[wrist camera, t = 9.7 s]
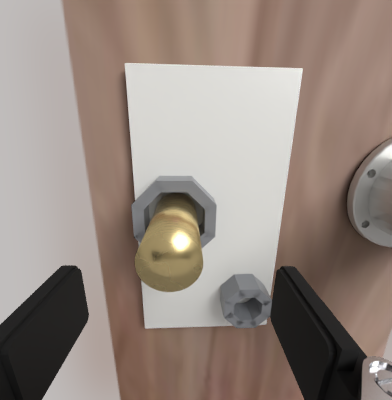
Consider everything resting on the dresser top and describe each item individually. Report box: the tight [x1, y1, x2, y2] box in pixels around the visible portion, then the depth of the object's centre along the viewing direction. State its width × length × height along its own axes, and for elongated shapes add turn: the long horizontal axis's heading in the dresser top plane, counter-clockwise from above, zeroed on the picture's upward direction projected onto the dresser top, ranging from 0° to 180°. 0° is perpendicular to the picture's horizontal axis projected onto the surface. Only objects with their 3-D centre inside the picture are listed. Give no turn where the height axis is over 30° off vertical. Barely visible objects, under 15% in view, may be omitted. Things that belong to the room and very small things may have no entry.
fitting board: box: [125, 63, 303, 328], centre depth 20 cm, size 15×28×4 cm, turn 179°
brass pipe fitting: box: [135, 193, 203, 292], centre depth 16 cm, size 4×4×9 cm
